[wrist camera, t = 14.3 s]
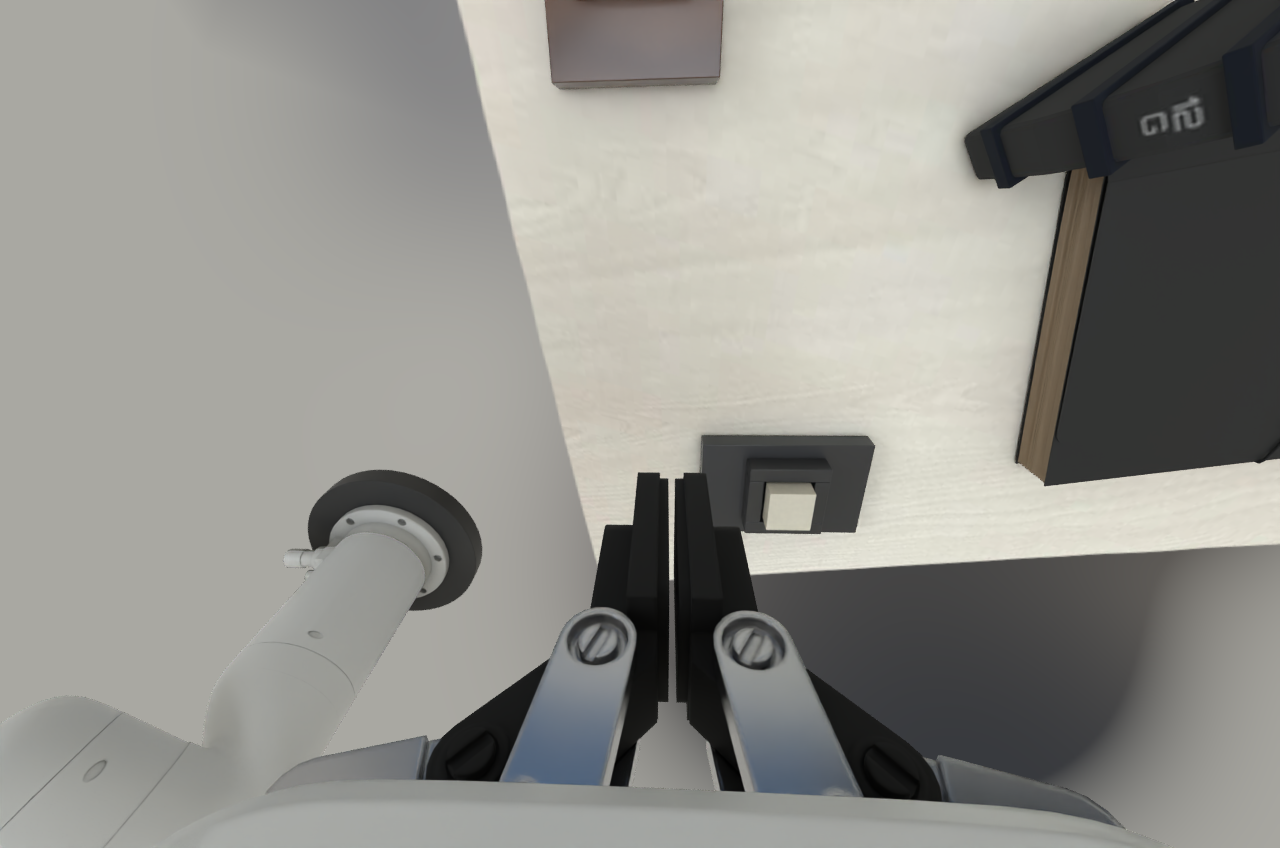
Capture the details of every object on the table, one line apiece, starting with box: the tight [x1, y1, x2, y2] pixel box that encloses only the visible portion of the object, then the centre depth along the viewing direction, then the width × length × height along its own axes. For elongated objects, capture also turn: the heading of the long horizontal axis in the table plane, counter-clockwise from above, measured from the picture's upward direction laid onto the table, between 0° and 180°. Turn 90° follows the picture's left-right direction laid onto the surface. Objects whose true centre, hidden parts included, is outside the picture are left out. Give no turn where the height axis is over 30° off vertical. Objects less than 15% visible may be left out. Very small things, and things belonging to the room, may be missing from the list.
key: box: [762, 482, 816, 531], centre depth 40 cm, size 4×4×2 cm
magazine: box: [965, 0, 1280, 189], centre depth 25 cm, size 4×13×15 cm, turn 124°
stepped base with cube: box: [700, 435, 875, 534], centre depth 41 cm, size 14×9×4 cm, turn 91°
